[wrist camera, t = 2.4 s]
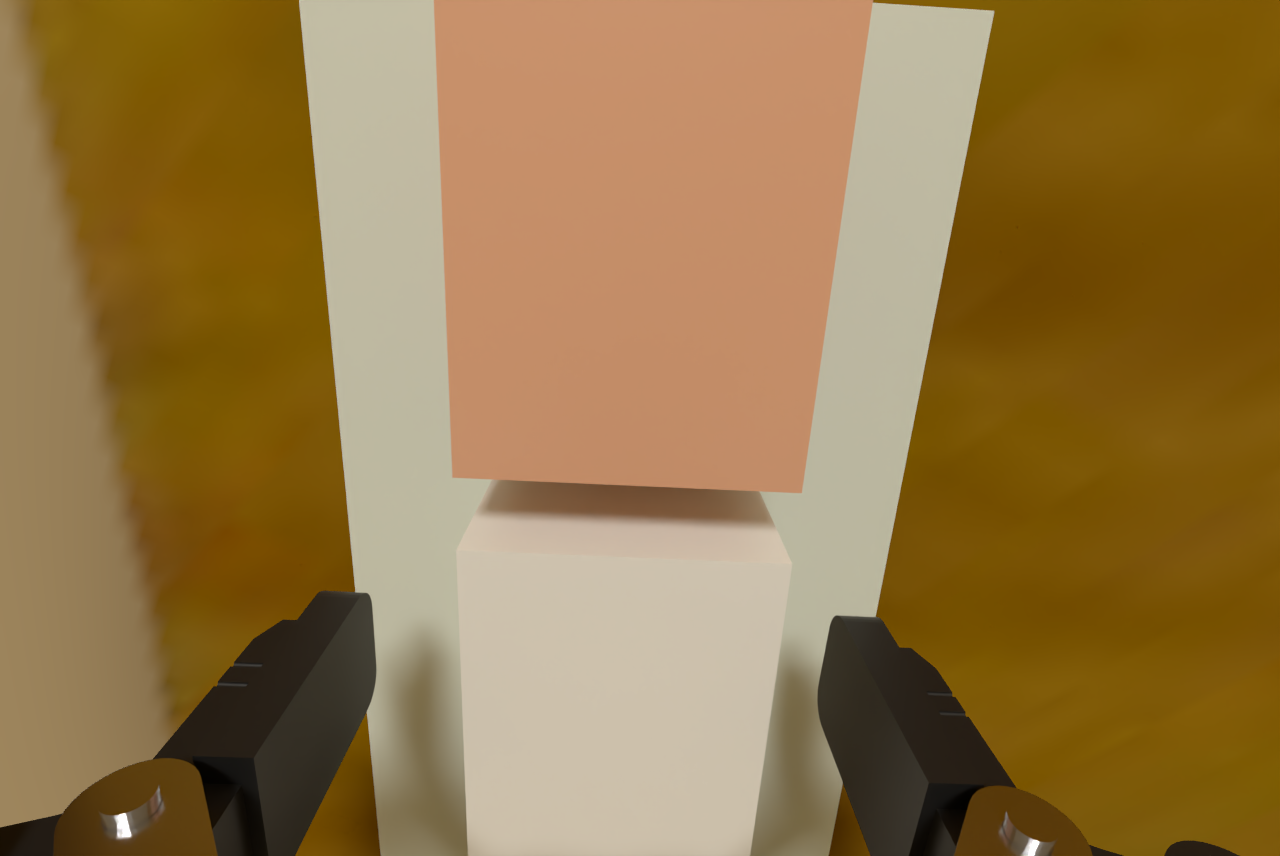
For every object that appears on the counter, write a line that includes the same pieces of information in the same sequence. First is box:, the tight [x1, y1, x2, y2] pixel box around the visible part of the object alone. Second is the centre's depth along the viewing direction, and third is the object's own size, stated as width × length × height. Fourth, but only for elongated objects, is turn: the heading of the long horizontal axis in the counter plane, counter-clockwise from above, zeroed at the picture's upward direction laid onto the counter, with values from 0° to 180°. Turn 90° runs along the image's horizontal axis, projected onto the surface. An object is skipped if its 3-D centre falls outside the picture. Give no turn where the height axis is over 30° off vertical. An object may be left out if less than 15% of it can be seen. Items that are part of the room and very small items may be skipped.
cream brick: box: [456, 479, 792, 856], centre depth 13 cm, size 6×5×5 cm
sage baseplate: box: [299, 0, 994, 856], centre depth 16 cm, size 23×12×1 cm, turn 177°
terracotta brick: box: [434, 0, 873, 493], centre depth 10 cm, size 6×5×5 cm
